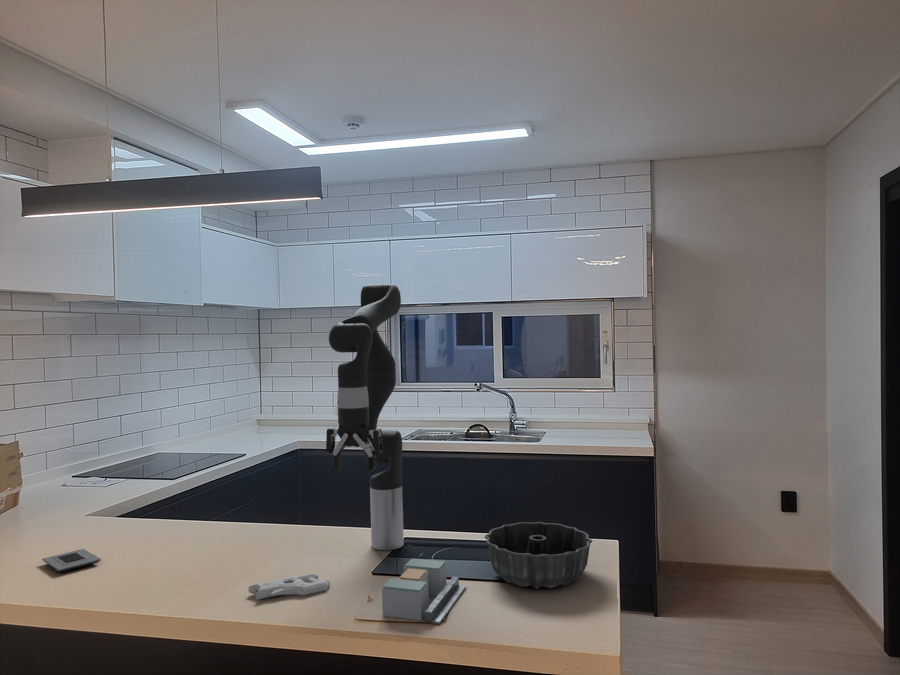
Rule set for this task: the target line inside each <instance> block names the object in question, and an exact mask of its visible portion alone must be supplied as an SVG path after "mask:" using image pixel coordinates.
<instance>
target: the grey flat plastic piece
mask: <svg viewBox="0 0 900 675" xmlns="http://www.w3.org/2000/svg"><path fill="white" fill-rule="evenodd" d="M330 586H331V580H330V579H324V580H319V575H316V574H314V573H305V574H300V575H294V576H289V577H283V578H281V579H277V580H271V581H267V582H263V583H262V582H261V583H255V584H252V585H250V586H248V593H249V594H252V595H255V599H256V600H262V599H266V598H267V599H268V598H271V597H276V596H277V597H278V596H293V595H294V596H300V597H301V596H302V597H304V596H308V595H312V594H317V593H320V592H325V591H327V590H328V589H329V587H330Z"/></svg>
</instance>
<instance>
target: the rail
mask: <svg viewBox="0 0 900 675" xmlns="http://www.w3.org/2000/svg"><path fill="white" fill-rule="evenodd" d="M459 579H460V578H459V577H458V576H452V577H451V578H450V579H449V580H448V582H447V584H446V586H445V587H444V588H443V589H442V591H441V592H440V593H439V594H438V596H435V598H434V599H433V601H432V602H431V603H429V607H428V608H427V609H426V611H425V616H424V623H425V624H429V625H431V624H432V625H441V623H442V621H444V619H445V618H446V617H447V615H448V614H449V613H450V611H451V610H452V609H453V607H454V605H455V604H456V603H457V602H458V599H459V598H460V597H461V596H462V594H463V593H464V592H465V590H466V588H467V586H466V585H464V584H463V585H461V584H460V582H459V581H460V580H459Z"/></svg>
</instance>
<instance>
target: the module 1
mask: <svg viewBox="0 0 900 675" xmlns="http://www.w3.org/2000/svg"><path fill="white" fill-rule="evenodd" d="M398 579H402V580H412V581H422V582H427V584H428V572H427V570H422V569H411V568H408V569H407V570H406V571H405V572H404V571H403V573H402V574H401V575H400V576H399V578H398ZM428 595H429V592H428ZM429 596H430V595H429Z"/></svg>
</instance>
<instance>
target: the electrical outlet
mask: <svg viewBox="0 0 900 675" xmlns="http://www.w3.org/2000/svg"><path fill="white" fill-rule="evenodd" d="M41 560H42V561H43V562H44V563H45V564H47V565H48V566H50V567H51V568H53V569H54V570H56V571H57V572H59V573H63V572H67V571H71V570H75V569H79V568H83V567H87V566H89V565H90V566H91V565H93V564H98V563H99V562H100V561H101V560H102V559H101V558H100V557H98V556H97V555H95V554H93V553H91V552H90V551H88V550H87V549H84V548H81V549H77V550H72V551H69V552H64V553H60V554H56V555H52V556H48V557H43V558H41Z"/></svg>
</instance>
